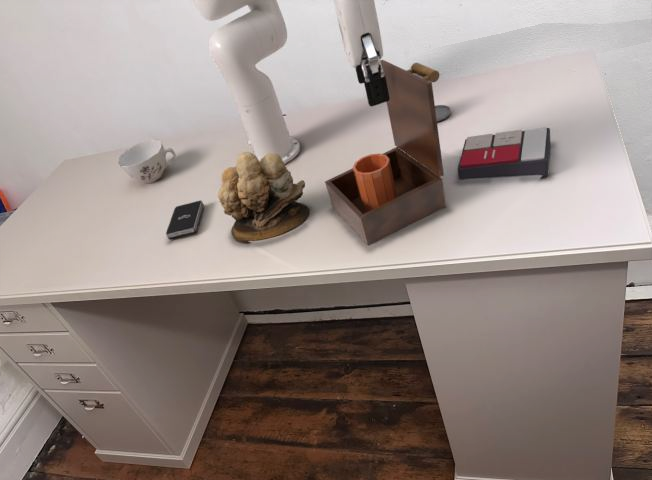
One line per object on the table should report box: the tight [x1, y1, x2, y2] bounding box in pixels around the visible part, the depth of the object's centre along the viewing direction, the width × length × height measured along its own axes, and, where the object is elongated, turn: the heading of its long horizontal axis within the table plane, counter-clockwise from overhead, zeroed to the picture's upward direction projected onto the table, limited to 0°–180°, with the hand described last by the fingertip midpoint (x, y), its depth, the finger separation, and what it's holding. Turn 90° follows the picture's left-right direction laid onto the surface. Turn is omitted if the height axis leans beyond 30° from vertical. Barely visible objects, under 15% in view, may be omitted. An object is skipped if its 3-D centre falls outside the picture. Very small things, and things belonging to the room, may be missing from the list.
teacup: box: [117, 139, 176, 184], centre depth 140 cm, size 15×12×8 cm
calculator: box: [457, 127, 551, 180], centre depth 97 cm, size 11×4×15 cm
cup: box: [352, 153, 397, 213], centre depth 96 cm, size 6×6×10 cm
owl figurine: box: [217, 151, 310, 245], centre depth 103 cm, size 18×12×17 cm, turn 89°
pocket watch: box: [435, 104, 452, 122], centre depth 116 cm, size 8×8×10 cm
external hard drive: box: [165, 199, 205, 241], centre depth 118 cm, size 7×11×2 cm, turn 176°
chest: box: [324, 146, 447, 246], centre depth 97 cm, size 16×16×7 cm
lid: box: [380, 59, 445, 178], centre depth 90 cm, size 17×16×5 cm
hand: (373, 91), depth 84 cm, fingers open, 9 cm apart
